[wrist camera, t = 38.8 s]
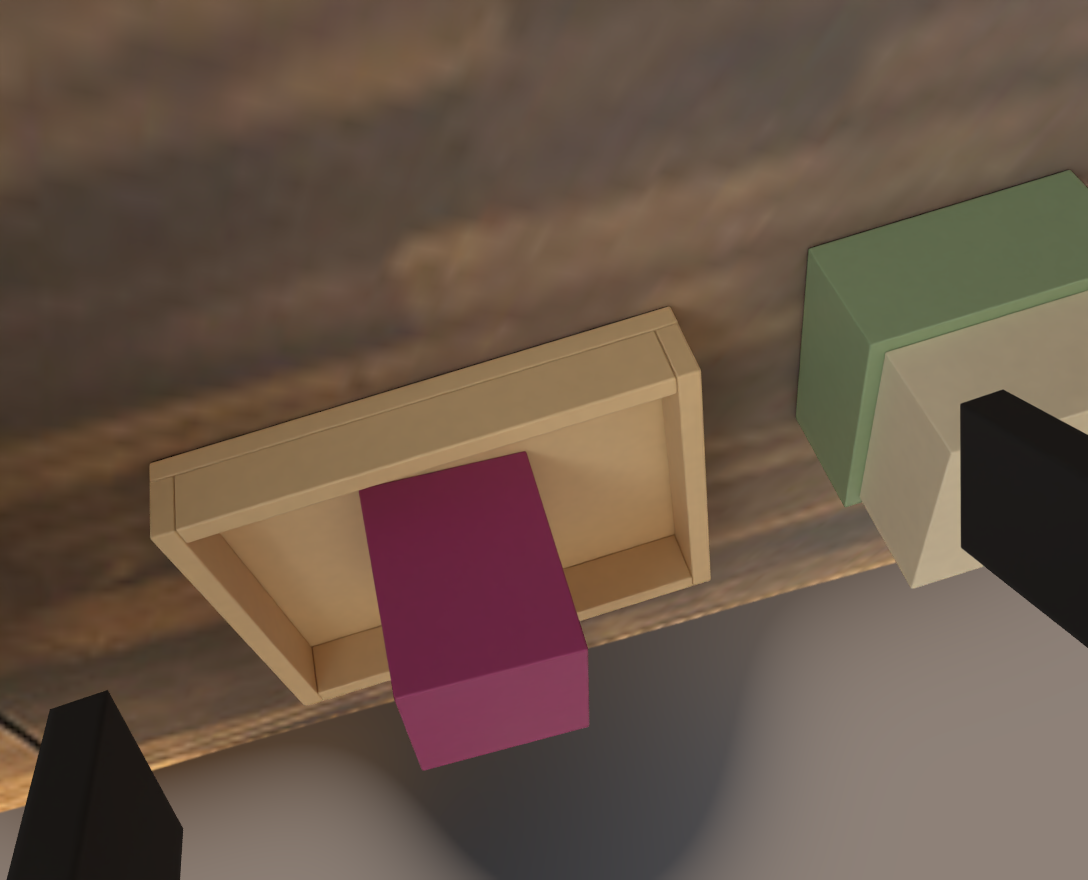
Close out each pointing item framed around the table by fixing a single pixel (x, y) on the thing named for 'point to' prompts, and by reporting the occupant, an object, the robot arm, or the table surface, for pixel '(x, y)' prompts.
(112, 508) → the table surface
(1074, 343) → the cream block
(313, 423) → the tray
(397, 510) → the mulberry block
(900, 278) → the sage block
